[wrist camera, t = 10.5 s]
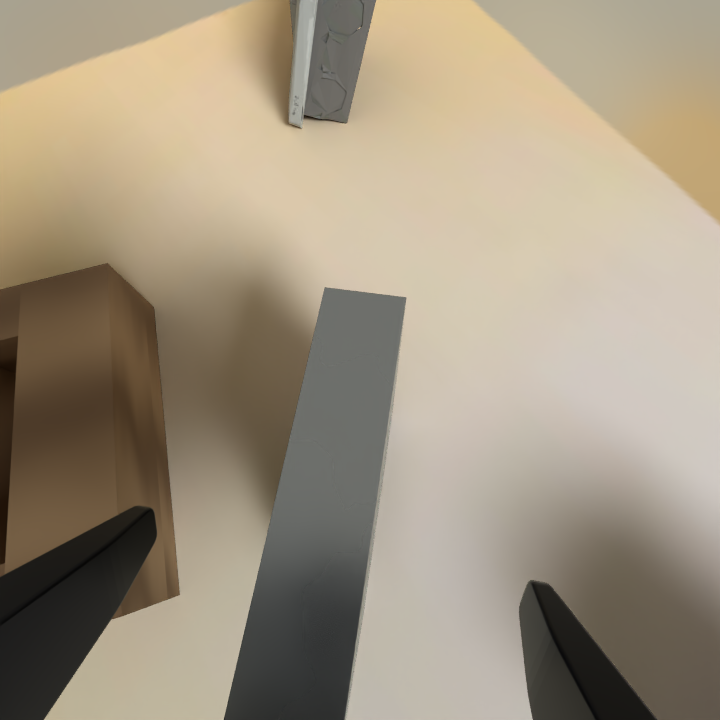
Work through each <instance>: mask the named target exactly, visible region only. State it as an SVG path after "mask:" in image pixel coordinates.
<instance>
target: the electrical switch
mask: <svg viewBox="0 0 720 720" xmlns="http://www.w3.org/2000/svg"><path fill="white" fill-rule="evenodd" d="M375 2H376V0H290V10H291V21H292V32H293V55H292V67H291V79H290V91H289V124H292V125H294V126H297V127H300V128H301V129H302V125H303V117H304V115H307V116H311V117H315V118H318V119H330V120H334V121H339V122H343V123H347V120H348V116H349V112H350V108H351V104H352V99H353V95H354V91H355V87H356V82H357V78H358V74H359V70H360V66H361V61H362V57H363V53H364V49H365V44H366V40H367V36H368V32H369V28H370V23H371V19H372V15H373V11H374V6H375ZM360 26H361V28H360V29H358V28H359V27H360ZM357 29H358V30H357Z"/></svg>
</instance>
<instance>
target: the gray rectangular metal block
mask: <svg viewBox="0 0 720 720" xmlns="http://www.w3.org/2000/svg"><path fill="white" fill-rule="evenodd" d="M405 304H406V297H398V296H390V295H382V294H374V293H366V292H358V291H350V290H342V289H334V288H326V287H325V289H324V293H323V297H322V302H321V306H320V310H319V314H318V319H317V323H316V327H315V331H314V336H313V340H312V344H311V349H310V353H309V357H308V361H307V366H306V370H305V374H304V379H303V383H302V387H301V391H300V396H299V400H298V404H297V409H296V413H295V417H294V421H293V426H292V430H291V434H290V438H289V443H288V447H287V451H286V456H285V460H284V464H283V468H282V473H281V477H280V481H279V486H278V490H277V494H276V498H275V503H274V507H273V511H272V516H271V520H270V524H269V528H268V533H267V537H266V541H265V546H264V550H263V554H262V558H261V563H260V567H259V571H258V575H257V580H256V584H255V588H254V593H253V597H252V601H251V605H250V610H249V614H248V618H247V623H246V627H245V631H244V635H243V640H242V644H241V648H240V653H239V657H238V661H237V665H236V670H235V674H234V678H233V682H232V687H231V691H230V695H229V700H228V704H227V708H226V712H225V717H224V720H346V715H347V709H348V703H349V697H350V691H351V685H352V679H353V673H354V667H355V661H356V655H357V649H358V643H359V637H360V631H361V625H362V619H363V613H364V606H365V599H366V592H367V585H368V578H369V571H370V564H371V557H372V550H373V543H374V536H375V529H376V522H377V516H378V509H379V502H380V495H381V488H382V481H383V474H384V467H385V460H386V453H387V446H388V439H389V432H390V425H391V418H392V410H393V402H394V393H395V385H396V377H397V369H398V361H399V353H400V345H401V336H402V328H403V320H404V312H405Z"/></svg>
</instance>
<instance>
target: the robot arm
mask: <svg viewBox="0 0 720 720" xmlns="http://www.w3.org/2000/svg"><path fill="white" fill-rule="evenodd" d="M156 538H157V526H156V519H155V512H154V510H153V508H151V507H145V506H140V505H137V506H134V507H132V508H130V509H128V510H126V511H124V512H122V513H120V514H118V515H116V516H114V517H113V518H111V519H109V520H107V521H105V522H103V523H101V524H99V525H97V526H96V527H94V528H92V529H90V530H88V531H86V532H84V533H82V534H80V535H78V536H77V537H75V538H73V539H71V540H69V541H67V542H65V543H63V544H61V545H59V546H58V547H56V548H54V549H52V550H50V551H48V552H46V553H44V554H42V555H40V556H39V557H37V558H35V559H33V560H31V561H29V562H27V563H25V564H23V565H22V566H20V567H18V568H16V569H14V570H12V571H10V572H8V573H6V574H4V575H3V576H1V577H0V720H44V719H45V717H46V716H47V714H48V713H49V711H50V710H51V708H52V707H53V705H54V704H55V702H56V701H57V699H58V698H59V696H60V695H61V693H62V692H63V690H64V689H65V687H66V686H67V684H68V683H69V681H70V680H71V678H72V677H73V675H74V674H75V672H76V671H77V669H78V668H79V666H80V665H81V663H82V662H83V661H84V659H85V658H86V656H87V655H88V653H89V652H90V650H91V649H92V647H93V646H94V644H95V643H96V641H97V640H98V638H99V637H100V635H101V634H102V632H103V631H104V629H105V628H106V626H107V625H108V623H109V622H110V620H111V619H112V617H113V616H114V614H115V613H116V611H117V610H118V608H119V606H120V605H121V603H122V601H123V600H124V598H125V596H126V595H127V593H128V591H129V589H130V587H131V585H132V584H133V582H134V580H135V578H136V576H137V574H138V573H139V571H140V569H141V567H142V565H143V563H144V562H145V560H146V558H147V556H148V554H149V553H150V551H151V549H152V547H153V545H154V543H155V541H156ZM519 618H520V627H521V637H522V646H523V655H524V664H525V673H526V682H527V690H528V697H529V702H530V708H531V712H532V717H533V720H657V719H656V717H655V716H654V715H653V714H652V712H651V711H650V710H649V709H648V707H647V706H646V705H645V704H644V702H643V701H642V700H641V699H640V697H639V696H638V695H637V694H636V692H635V691H634V690H633V688H632V687H631V686H630V685H629V683H628V682H627V681H626V680H625V678H624V677H623V676H622V675H621V673H620V672H619V671H618V670H617V668H616V667H615V666H614V665H613V663H612V662H611V661H610V660H609V658H608V657H607V656H606V654H605V653H604V652H603V651H602V649H601V648H600V647H599V646H598V644H597V643H596V642H595V641H594V639H593V638H592V637H591V636H590V634H589V633H588V632H587V631H586V629H585V628H584V627H583V626H582V624H581V623H580V622H579V620H578V619H577V618H576V617H575V615H574V614H573V613H572V612H571V610H570V609H569V608H568V607H567V605H566V604H565V603H564V602H563V600H562V599H561V598H560V597H559V595H558V594H557V593H556V592H555V590H554V589H553V588H552V587H551V586H550V585H549V584H548V583H545V582H540V581H534V580H530V581H529V582H528V584H527V586H526V589H525V591H524V594H523V597H522V600H521V603H520V607H519Z"/></svg>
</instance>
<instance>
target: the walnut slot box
mask: <svg viewBox="0 0 720 720" xmlns="http://www.w3.org/2000/svg"><path fill="white" fill-rule="evenodd" d="M137 505H140V506H145V507H151V508H153V510H154V512H155V519H156V526H157V538H156V541H155V543H154V545H153V547H152V549H151V551H150V553H149V554H148V556H147V558H146V560H145V562H144V563H143V565H142V567H141V569H140V571H139V573H138V574H137V576H136V578H135V580H134V582H133V584H132V585H131V587H130V589H129V591H128V593H127V595H126V596H125V598H124V600H123V601H122V603H121V605H120V606H119V608H118V610H117V611H116V613H115V614H114V616H113V617H112V619H115V618H118V617H121V616H124V615H127V614H130V613H132V612H135V611H138V610H140V609H143V608H146V607H148V606H151V605H154V604H156V603H159V602H162V601H164V600H167V599H170V598H172V597H175V596H178V595H180V593H179V582H178V571H177V560H176V549H175V537H174V526H173V515H172V504H171V493H170V482H169V470H168V459H167V448H166V437H165V426H164V414H163V403H162V392H161V381H160V370H159V358H158V347H157V336H156V325H155V314H154V307H153V306H152V305H151V304H150V303H149V302H148V301H147V300H146V299H144V298H143V297H142V296H141V295H140V294H139V293H138V292H137V291H136V290H135V289H134V288H133V287H132V286H131V285H130V284H129V283H128V282H127V281H126V280H124V279H123V278H122V277H121V276H120V275H119V274H118V273H117V272H116V271H115V270H114V269H113V268H112V267H111V266H110V265H109V264H108V263H107V264H103V265H98V266H94V267H90V268H86V269H82V270H78V271H74V272H70V273H66V274H62V275H58V276H54V277H50V278H46V279H42V280H38V281H34V282H30V283H26V284H22V285H18V286H13V287H9V288H5V289H1V290H0V577H1V576H3V575H4V574H6V573H8V572H10V571H12V570H14V569H16V568H18V567H20V566H22V565H23V564H25V563H27V562H29V561H31V560H33V559H35V558H37V557H39V556H40V555H42V554H44V553H46V552H48V551H50V550H52V549H54V548H56V547H58V546H59V545H61V544H63V543H65V542H67V541H69V540H71V539H73V538H75V537H77V536H78V535H80V534H82V533H84V532H86V531H88V530H90V529H92V528H94V527H96V526H97V525H99V524H101V523H103V522H105V521H107V520H109V519H111V518H113V517H114V516H116V515H118V514H120V513H122V512H124V511H126V510H128V509H130V508H132V507H134V506H137Z"/></svg>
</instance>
